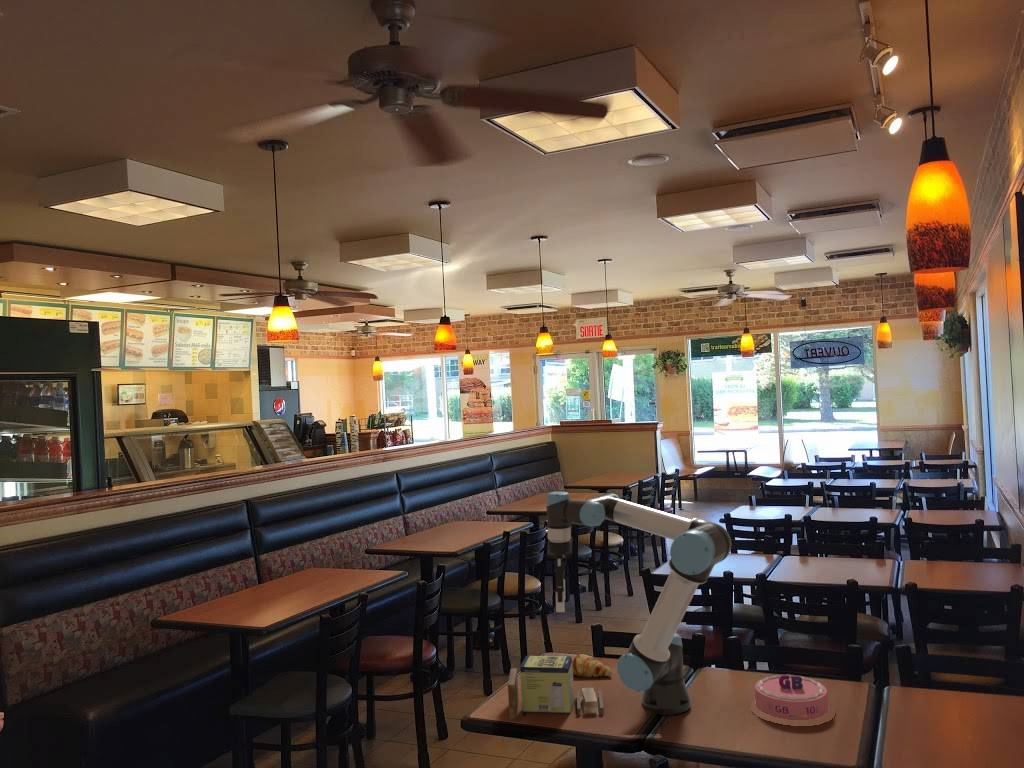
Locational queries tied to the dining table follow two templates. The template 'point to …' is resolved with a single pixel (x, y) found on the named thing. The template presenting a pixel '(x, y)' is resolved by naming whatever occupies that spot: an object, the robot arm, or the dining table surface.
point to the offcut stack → (589, 700)
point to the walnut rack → (515, 700)
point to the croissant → (589, 667)
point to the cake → (791, 697)
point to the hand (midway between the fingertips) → (560, 605)
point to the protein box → (547, 684)
